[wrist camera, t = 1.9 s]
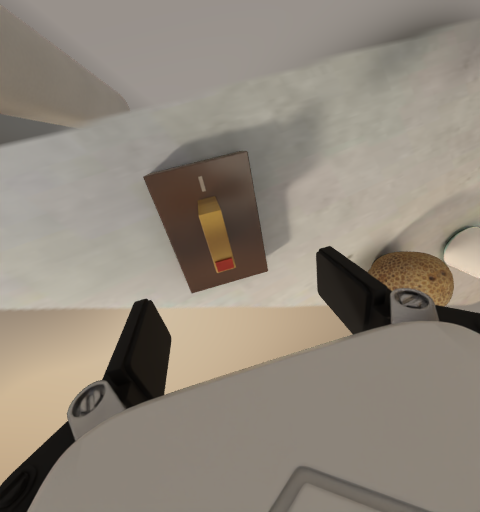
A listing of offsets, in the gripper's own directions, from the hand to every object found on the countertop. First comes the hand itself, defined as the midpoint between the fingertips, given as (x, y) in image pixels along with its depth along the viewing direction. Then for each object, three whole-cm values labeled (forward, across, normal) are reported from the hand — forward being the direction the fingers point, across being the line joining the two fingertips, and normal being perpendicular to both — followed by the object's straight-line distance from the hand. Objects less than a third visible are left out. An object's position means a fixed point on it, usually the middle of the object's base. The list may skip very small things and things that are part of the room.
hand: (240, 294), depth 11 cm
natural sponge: (+16, -23, +15) cm, 32 cm away
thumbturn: (+12, +1, 0) cm, 12 cm away
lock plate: (+15, +1, +1) cm, 15 cm away
